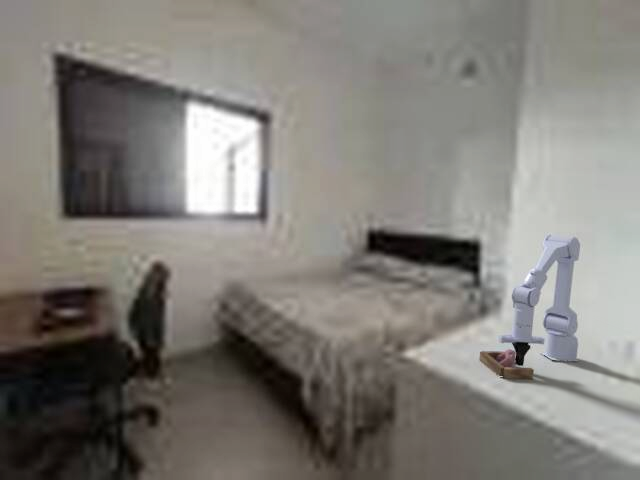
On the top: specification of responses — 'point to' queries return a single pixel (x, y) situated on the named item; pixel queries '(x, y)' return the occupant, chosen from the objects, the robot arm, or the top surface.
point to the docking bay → (506, 372)
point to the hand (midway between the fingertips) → (518, 364)
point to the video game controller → (507, 358)
